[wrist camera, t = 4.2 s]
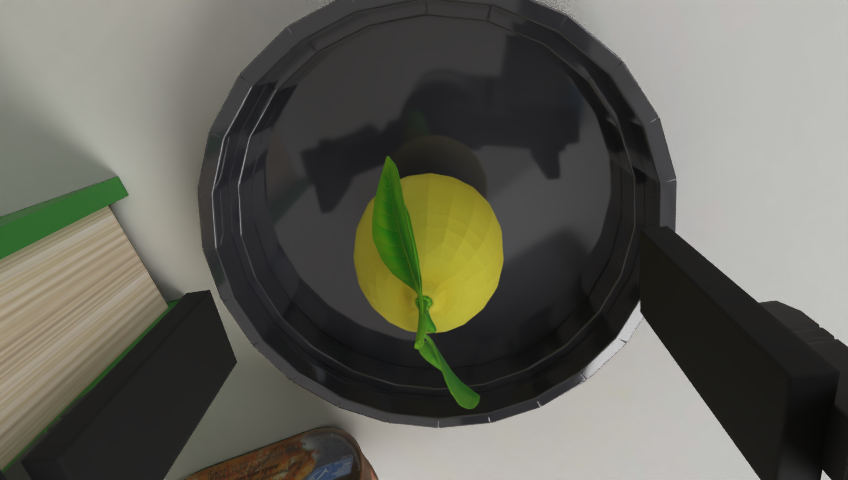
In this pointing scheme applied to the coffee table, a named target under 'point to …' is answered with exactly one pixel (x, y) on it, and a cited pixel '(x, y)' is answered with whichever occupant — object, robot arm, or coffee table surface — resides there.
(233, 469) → the tin
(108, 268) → the hardback book
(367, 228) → the lemon
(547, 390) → the pan
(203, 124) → the coffee table surface
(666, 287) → the robot arm
